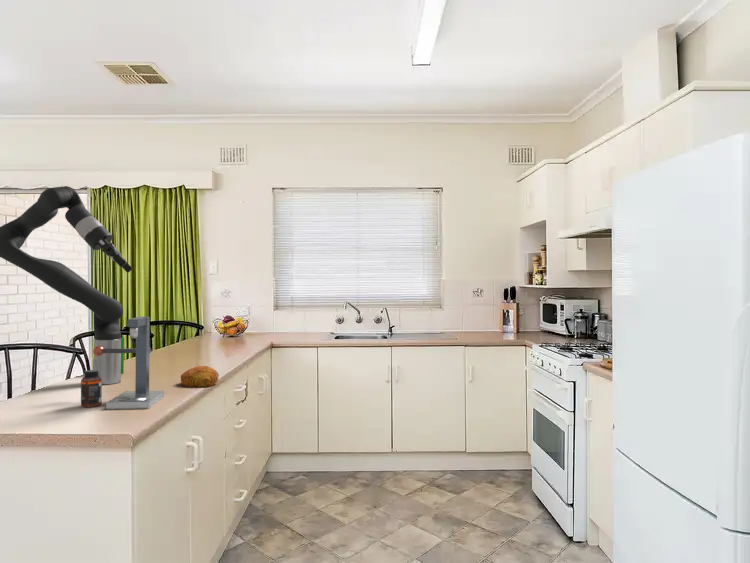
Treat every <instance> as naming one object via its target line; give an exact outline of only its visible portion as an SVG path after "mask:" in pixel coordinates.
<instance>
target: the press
mask: <svg viewBox="0 0 750 563" xmlns="http://www.w3.org/2000/svg"><path fill="white" fill-rule="evenodd" d="M150 320H151V318H150V316H136V317H133V318H127V324H126V327H127V328H129V339H135V349H136V353H135V381H134V382H135V385H134V388H135V390H125V391H123V392H122V393H119V395H117V396H115V397H114V398H112V399H110V400H108V401H107V402H106V403H105V410H129V409H130V410H132V409H133V410H136V409H137V410H138V409H150V408H152V407H153V406H154V405H155V404H157V403H158V402H159V401H160V400H162V399H163V398H164V397H165V390H150V354H149V347H151V346H150V344H151V343H150V335H151V333H150V329H151V328H150V326H151V324H150Z"/></svg>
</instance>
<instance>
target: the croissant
mask: <svg viewBox="0 0 750 563" xmlns="http://www.w3.org/2000/svg"><path fill="white" fill-rule="evenodd" d="M219 377H220V375H219V372H218V371H217V370H216V369H215V368H213V367H210V366H207V365H198V366H195V367H192V368H189V369H187V370H186V371H184V372H183V373H182V374H181V375H180V383H181V384H182V385H183V386H185V387H188V388H195V387H196V388H204V387H205V388H206V387H213V386H214V385H215V384H216V383H217V382H218V380H219Z"/></svg>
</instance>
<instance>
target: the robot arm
mask: <svg viewBox="0 0 750 563" xmlns="http://www.w3.org/2000/svg"><path fill="white" fill-rule="evenodd" d="M84 204H85V203H83V201H82V198H81V197H80V195H79V193H78V191H77V190H75V189H74V188H72V187H71V186H67V185H63V186H62V185H61V186H55V187H50V188H49V187H48V188H46V189H45V190H44V191H42V192H41V193H40V194H39V197H38V198H37V201H36V202H34V203H33V204H32V205H31V206H30V207H28V209H26V210H25V211H24V212H23V213H22V214H21V215H20V216H17V218H15V219H14V220H11V221H9V222H7V223H5V224H3V225H1V226H0V259H3V260H5V261H7V262H8V263H10V264H12V265H14V266H15V267H18V268H20V269H22V270H23V271H24V272H25V271H26V273H29V274H30V275H32V276H33V277H35V278H36V279H38V280H40V281H41V282H43V283H44V284H45V285H47V286H49V287H50V288H51V289H53V290H54V291H56V292H58V293H60V294H61V295H63V296H66V297H67V298H70V299H72V300H74V301H76V302H77V303H80V304H82V305H84V306H85V307H86V308H87V309H88V310H90V311H92V312H93V333H94V348H95V347H96V346H102V347H103V348H104V349H121V337H122V332H121V328H120V319H121V318H122V316H123V313H124V307H123V305H122V304H121V302H120V301H119V300H117V299H115V298H113V297H111V296H109V295H107V294H105V293H104V292H102V291H100V290H98V289H97V288H95V287H94V286H93V285H92V284H90V283H89V282H88V281H87V280H86V279H84V278H83V277H82V276H81V275H80V274H78V273H76V272H75V271H74V270H72V269H71V268H70V267H68V266H66V265H65V264H63V263H62V262H59V261H56V260H52V259H51V260H50V259H44V258H38V257H35V256H33V255H30V254H28V253H27V252H25V251H24V250H22V249H21V248H22V247H23V245H24V244H25V241H26V240H27V239H28V238H29V236H30V234H31V233H32V232H34V230H36V229H38V228H41V227H43V226H45V225H46V224H47V223H48V222H50V221H51V220H52V219H53V218H55V217H56V216H57V214H58V212H59V209H65V208H67V209H68V210H67V211H66V212H65V213H64V218H65V220H66V221H67V222H68V223H69V225H70V226H71V227H72V228H73V229H74V230H75V231H76V232H77V233H78V235H79V236H80V238H81V239H82V240H84V242H85V243H87V245H88V246H89V247H90V248H91V249H92V250H94V251H99V250H101V252H102V253H104V254H105V255H106V256H107V257H108V258H110V259H111V260H112V261H113V262H115V263H116V264H117V265H118V266H119V267H120V268H122V269H123V270H124V271H125V272H126V273H130V272H131V271H133V267H132V266H131V265H130V264H129V263H128V262H127V260H126V259H125V258H124V257H123V254H122V253H121V252H120V251H119V250H118V249H117V247H116V246H115V245H114V244H113V242H112V240H113V235H112V233H110V231H109V230H108V229H107V228H106V227H105V226H104V225H103V224H102V223H101V222H100V221H99V220H98V219H97V218H95V217H94V215H93V214H92V213H91V212H90V211H89V210H88V209H87V208H86V207H85V205H84ZM92 370H98V376H99V377H101V379H102V385H115V384H117V383H120V382H121V379H122V378H121V377H122V376H121V375H122V374H121V353H104V354H103V355H102V356H96V355H94V358H93V360H92Z"/></svg>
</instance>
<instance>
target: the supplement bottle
mask: <svg viewBox="0 0 750 563" xmlns="http://www.w3.org/2000/svg"><path fill="white" fill-rule="evenodd" d="M83 373H84V376H83V377H82V378H81V380H80V406H81V407H82V408H95V407H98V406H99V407H100V406H101V405H102V400H103V399H102V397H103V396H102V392H103V391H102V390H103V388H102V385H103V384H102V379H101V377H99V376H98V370H93V369H89V370H85V371H84V372H83Z"/></svg>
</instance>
